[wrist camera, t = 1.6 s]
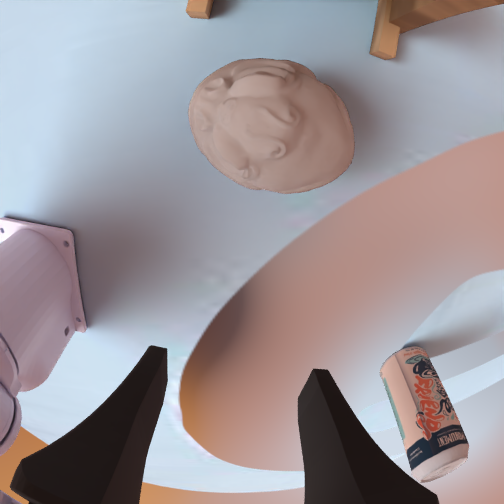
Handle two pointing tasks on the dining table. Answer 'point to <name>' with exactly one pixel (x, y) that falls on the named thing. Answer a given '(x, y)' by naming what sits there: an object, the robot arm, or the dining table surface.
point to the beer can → (423, 415)
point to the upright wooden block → (388, 18)
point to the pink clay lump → (272, 126)
